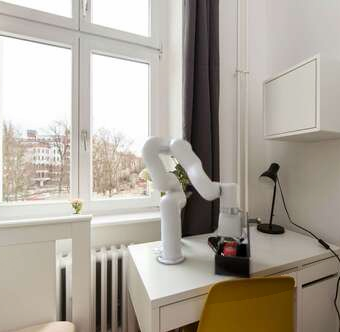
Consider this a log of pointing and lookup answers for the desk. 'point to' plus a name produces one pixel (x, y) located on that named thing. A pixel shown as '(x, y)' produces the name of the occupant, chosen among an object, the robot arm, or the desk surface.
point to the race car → (230, 249)
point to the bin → (233, 262)
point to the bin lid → (249, 231)
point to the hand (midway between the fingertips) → (230, 251)
